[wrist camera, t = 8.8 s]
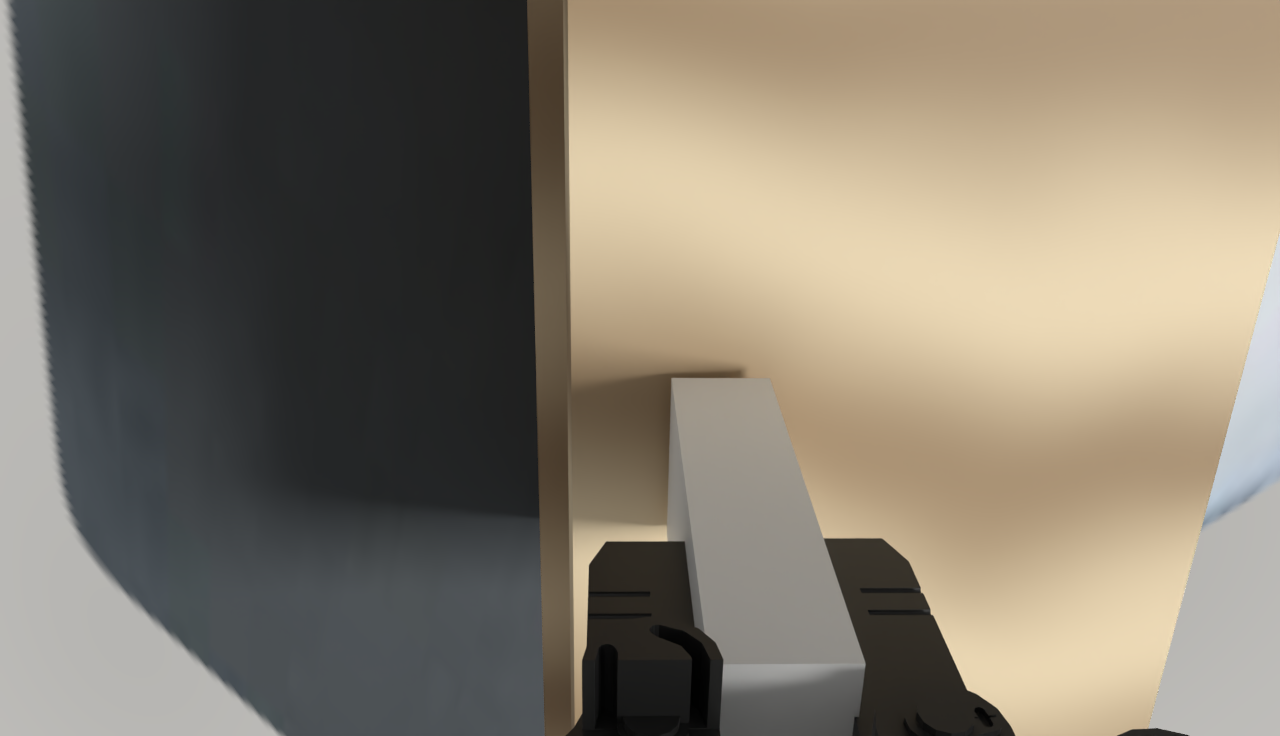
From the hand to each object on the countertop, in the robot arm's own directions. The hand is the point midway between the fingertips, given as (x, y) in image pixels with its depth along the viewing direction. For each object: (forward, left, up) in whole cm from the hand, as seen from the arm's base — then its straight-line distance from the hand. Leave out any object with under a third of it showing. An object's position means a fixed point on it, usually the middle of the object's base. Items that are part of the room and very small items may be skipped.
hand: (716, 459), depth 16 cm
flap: (0, +3, -1) cm, 4 cm away
